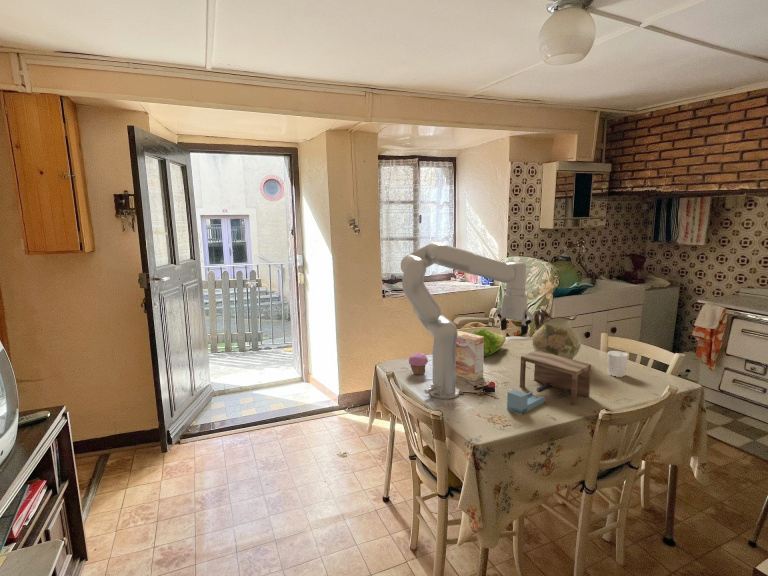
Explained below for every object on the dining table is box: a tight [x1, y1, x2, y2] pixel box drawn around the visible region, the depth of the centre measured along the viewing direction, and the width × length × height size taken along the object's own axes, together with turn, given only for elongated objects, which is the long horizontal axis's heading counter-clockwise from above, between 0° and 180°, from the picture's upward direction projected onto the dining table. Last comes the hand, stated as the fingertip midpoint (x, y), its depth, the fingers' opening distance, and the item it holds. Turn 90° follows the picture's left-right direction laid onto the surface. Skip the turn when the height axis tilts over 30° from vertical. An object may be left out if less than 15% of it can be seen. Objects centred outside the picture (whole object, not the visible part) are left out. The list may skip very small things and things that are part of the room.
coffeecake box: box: [456, 330, 485, 382], centre depth 191 cm, size 15×7×20 cm, turn 42°
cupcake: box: [408, 352, 429, 376], centre depth 195 cm, size 9×9×10 cm
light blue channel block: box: [506, 389, 546, 416], centre depth 160 cm, size 16×6×7 cm, turn 129°
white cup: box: [607, 350, 629, 378], centre depth 189 cm, size 8×8×10 cm
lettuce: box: [471, 328, 506, 357], centre depth 224 cm, size 14×24×15 cm
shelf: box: [519, 350, 592, 406], centre depth 172 cm, size 12×24×14 cm, turn 39°
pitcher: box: [531, 308, 582, 360], centre depth 207 cm, size 22×24×25 cm
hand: (513, 332), depth 175 cm, fingers open, 9 cm apart
